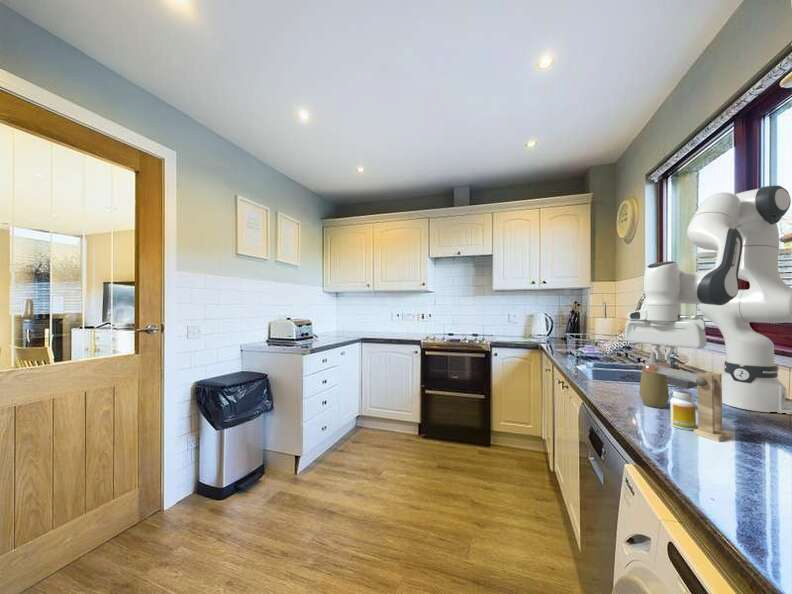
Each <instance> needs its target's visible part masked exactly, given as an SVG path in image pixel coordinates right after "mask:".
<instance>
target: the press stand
mask: <svg viewBox="0 0 792 594" xmlns="http://www.w3.org/2000/svg"><path fill="white" fill-rule="evenodd" d="M696 374H697V380H696V384H697V387H696V388H697V428H696V429H695V430H693V435H695V436H699V437H701V438H706V439H709V440H712V441H715V442H720V441H723V440H727V439H729V437H730V438H732V437H733V432H732V431H730V430H725V429H723V403H722V375H723V373H716V372H712V371H711V372H710V371H706V372H704V373H696ZM714 378H715V379H714ZM731 436H732V437H731Z"/></svg>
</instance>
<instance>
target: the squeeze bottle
mask: <svg viewBox="0 0 792 594" xmlns="http://www.w3.org/2000/svg"><path fill="white" fill-rule="evenodd" d="M658 363H659V361H658V359H656V354H655V352H654V351H651V352H650V355H649V360H648V361H644V366H645V365H651V364H658ZM640 373H641V374H640V382H639V391H638V393H639V395H640V399H641V401H642V404H643V405H644V406H646V407H650V408H657V409H661V408H662V409H663V408H666V405H667V403H668V401H669V398H670V394H669V386H668V385H669V384H667V383H666V377H667V375H663V374H659V373H645V372H644V371H643V368H642V369H641V372H640Z"/></svg>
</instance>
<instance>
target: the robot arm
mask: <svg viewBox="0 0 792 594" xmlns="http://www.w3.org/2000/svg"><path fill="white" fill-rule="evenodd" d="M790 207H791V196H790V193H789V191H788V190H787V189H786V188H785V187H782V186H781V185H766V186H762V187H759V188H755V189H751V190H746V191H741V192H738V193H735V194H734V193H731V192H717V193H713V194H711V195H709V196H708V197H707V198H705V199H704V200H703V202H702V203H701V204H700V205H699V207H698V208H697V210H696V211H695V213H694V215H693V216H692V217H691V220H690V222H689V224H688V226H687V228H686V236H687V239H688V240H689V242H690V243H691V244H693V246H696V247H697V248H700V249H703V250H707V251H715V252H717V253H716V259H715V264H714V267H712V268H711V269H707V270H705V271H704V270H703V271H694V272H685V271H683V270H681V269H679V266H678V263H677V262H676V261H673V260H672V261H660V262H655V263H651V264H648V265H647V266H646V267H645V269H644V273H643V274H644V275H643V293H644V296H645V297H644V302H643V308H642V309H639V310H635V311H631V312H628V313H627V314H626V318H627V322H626V323H625V326H624V327H625V329H624V337H625V340H626V341H627V342H628V343H636V344H647V345H651V349H652V352H655V354H656V359H657V360H659V361H664V362H666V361H667V362H668V361H670V360H671V355H672V354H673V352H674V351H675V347H676V348H685V349H687V348H688V349H696V350H699V349H700V350H701V349H704V348H705V347H706V346H707V343H708V342H707V336H706V321H705V319H704V318H702V317H700V316H699V315H684V314H683V315H682V304H686V305H688V304H689V305H691V304H693V305H698V309H699V312H700V313H701V314H702V316H703V317H705V318H706V319H708V320H709V321H710V322H712V323H713V324H714V325H715V326H716V327H717V328H718V329H719V331H720V333H721V335H722V337H723V340H724V346H725V347H724V348H725V360H726V361H724V364H723V368H724V369H723V370H724V372H725V373H724V374H722V404H724V405H727V406H729V407H734V408H738V409H743V410H748V411H753V412H762V413H770V412H777V413H776V414H782V413H786V414H785V415H792V401H791V400H790V401H789V400H788V397H787V388H786V386H785V385H784V384H783V383H782V381H780V380H779V378H778V377H779V374H778V371H779V369H780V368H779V365H775V345H774V343H773V341H772V340H771V339H770V338H769V337H767V336H765V335H763V334H761V333H759V332H756V331H755V330H754V329H753V328H752V327H751V325H750V323H764V324H780V323H781V324H783V323H792V287H791V286H789V285H788V284H786V282H785V281H784V280H783V279H782V277H781V275H780V273H779V254H780V253H779V252H780V233H779V227H778V225H777V223H778V222H780V221H781V220H782V217H784V216H785V214H786V213H787V212H788V210H789V208H790ZM735 228H736V229H735ZM739 280H741V281H746V282H749V288H748V289H739ZM661 346H664V349H665V350H666V351H665V353H662V351H661V350H660V348H661Z"/></svg>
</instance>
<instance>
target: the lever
mask: <svg viewBox="0 0 792 594" xmlns="http://www.w3.org/2000/svg"><path fill="white" fill-rule="evenodd" d="M642 369H643V371H644V372H645V373H659V374H663V375H666V383H667V385H671V386H674V387H678V388H682V389H686V390H689V389H695V388H697V384H696V380H697V374H698V373H692V372H688V371H685V370H680V369H676V368H672V365H671V364H670V362H666V361H664V362H658V364H651V365H645V364H644V366H643V367H642ZM714 379H715V378H714Z"/></svg>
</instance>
